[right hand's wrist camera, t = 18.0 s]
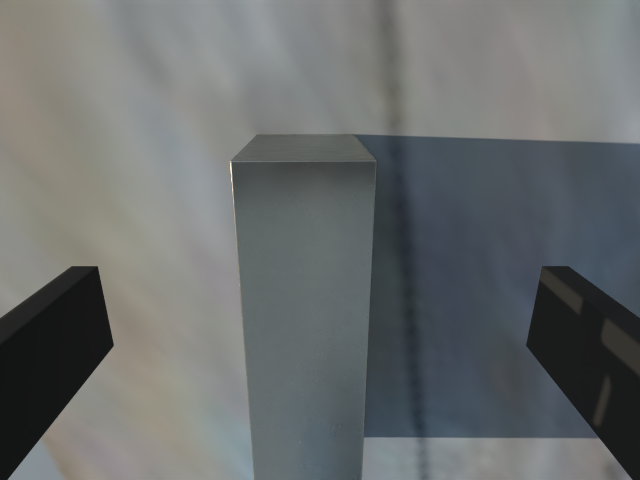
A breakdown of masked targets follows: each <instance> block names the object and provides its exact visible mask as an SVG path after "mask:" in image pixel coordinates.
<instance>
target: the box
mask: <svg viewBox="0 0 640 480" xmlns="http://www.w3.org/2000/svg"><path fill="white" fill-rule="evenodd" d="M230 167H231V180H232V193H233V206H234V220H235V233H236V246H237V259H238V272H239V285H240V298H241V311H242V324H243V337H244V350H245V363H246V376H247V389H248V402H249V416H250V429H251V442H252V455H253V468H254V480H362V464H363V443H364V422H365V401H366V380H367V359H368V338H369V317H370V296H371V276H372V255H373V234H374V213H375V192H376V171H377V160H376V159H375V158H374V157H373V156H372V155H371V153H370V152H369V151H368V150H367V149H366V148H365V147H364V146H363V145H362V143H361V142H360V141H359V140H358V139H357V138H356V137H355V136H354V135H353V134H340V135H256V136H255V137H254V138H253V139H252V140H251V141H250V142H249V143H248V144H247V145H246V146H245V147H244V148H243V149H242V150H241V151H240V152H239V153H238V154H237V155H236V156H235V157H234V158H233V159H232V160H231V161H230Z"/></svg>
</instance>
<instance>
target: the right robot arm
mask: <svg viewBox="0 0 640 480" xmlns="http://www.w3.org/2000/svg"><path fill="white" fill-rule="evenodd" d="M113 346H114V344H113V339H112V334H111V329H110V325H109V320H108V315H107V310H106V305H105V300H104V295H103V290H102V285H101V280H100V275H99V271H98V266H72V267H70V268H69V269H67V270H66V271H65V272H63V273H62V274H61V275H59V276H58V277H56V278H55V279H54V280H52V281H51V282H50V283H48V284H47V285H45V286H44V287H43V288H41V289H40V290H38V291H37V292H36V293H34V294H33V295H32V296H30V297H29V298H27V299H26V300H25V301H23V302H22V303H21V304H19V305H18V306H16V307H15V308H14V309H12V310H11V311H10V312H8V313H7V314H5V315H4V316H3V317H1V318H0V480H8V478H9V477H10V476H11V475H12V473H13V472H14V471H15V469H16V468H17V467H18V466H19V464H20V463H21V462H22V461H23V459H24V458H25V457H26V456H27V454H28V453H29V452H30V451H31V449H32V448H33V447H34V445H35V444H36V443H37V442H38V441H39V439H40V438H41V437H42V435H43V434H44V433H45V432H46V430H47V429H48V428H49V427H50V425H51V424H52V423H53V422H54V420H55V419H56V418H57V417H58V415H59V414H60V413H61V412H62V410H63V409H64V408H65V407H66V405H67V404H68V403H69V401H70V400H71V399H72V398H73V396H74V395H75V394H76V393H77V391H78V390H79V389H80V388H81V386H82V385H83V384H84V383H85V381H86V380H87V379H88V378H89V376H90V375H91V374H92V373H93V371H94V370H95V369H96V367H97V366H98V365H99V364H100V362H101V361H102V360H103V359H104V357H105V356H106V355H107V354H108V352H109V351H110V350H111V349H112V347H113ZM526 346H527V347H528V349H529V350H530V351H531V352H532V354H533V355H534V356H535V357H536V359H537V360H538V361H539V362H540V364H541V365H542V366H543V367H544V369H545V370H546V371H547V373H548V374H549V375H550V376H551V378H552V379H553V380H554V381H555V383H556V384H557V385H558V386H559V388H560V389H561V390H562V391H563V393H564V394H565V395H566V396H567V398H568V399H569V400H570V401H571V403H572V404H573V405H574V407H575V408H576V409H577V410H578V412H579V413H580V414H581V415H582V417H583V418H584V419H585V420H586V422H587V423H588V424H589V425H590V427H591V428H592V429H593V430H594V432H595V433H596V434H597V435H598V437H599V438H600V439H601V441H602V442H603V443H604V444H605V446H606V447H607V448H608V449H609V451H610V452H611V453H612V454H613V456H614V457H615V458H616V459H617V461H618V462H619V463H620V464H621V466H622V467H623V468H624V470H625V471H626V472H627V473H628V475H629V476H630V477H631V478H632V480H640V318H639V317H637V316H636V315H635V314H633V313H632V312H630V311H629V310H628V309H626V308H625V307H624V306H622V305H621V304H619V303H618V302H617V301H615V300H614V299H613V298H611V297H610V296H608V295H607V294H606V293H604V292H603V291H602V290H600V289H599V288H597V287H596V286H595V285H593V284H592V283H590V282H589V281H588V280H586V279H585V278H584V277H582V276H581V275H579V274H578V273H577V272H575V271H574V270H573V269H571V268H570V267H568V266H542V271H541V275H540V280H539V285H538V290H537V295H536V300H535V305H534V310H533V315H532V320H531V325H530V329H529V334H528V339H527V344H526Z"/></svg>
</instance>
